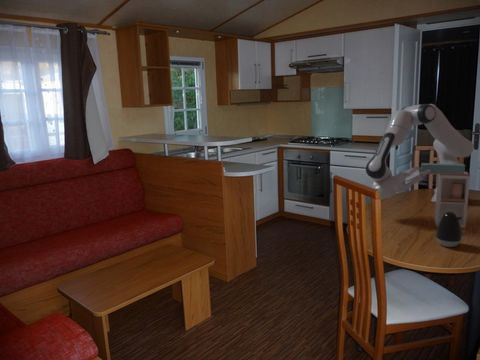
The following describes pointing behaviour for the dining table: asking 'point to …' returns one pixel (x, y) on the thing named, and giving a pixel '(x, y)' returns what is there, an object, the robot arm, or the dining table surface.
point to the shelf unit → (444, 196)
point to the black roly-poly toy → (449, 230)
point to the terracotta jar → (456, 190)
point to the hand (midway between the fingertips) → (429, 168)
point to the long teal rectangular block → (443, 168)
